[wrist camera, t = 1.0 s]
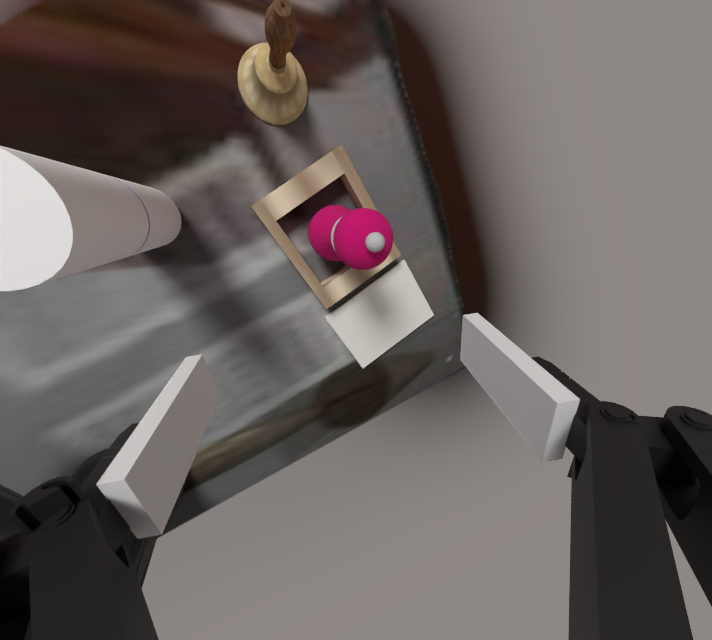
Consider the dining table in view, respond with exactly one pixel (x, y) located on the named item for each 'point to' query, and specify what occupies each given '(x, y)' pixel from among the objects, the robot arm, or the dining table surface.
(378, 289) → the plastic pad
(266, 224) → the maple frame
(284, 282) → the dining table surface
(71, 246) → the cylindrical container
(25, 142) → the dining table surface
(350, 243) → the pepper mill
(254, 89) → the hand bell
